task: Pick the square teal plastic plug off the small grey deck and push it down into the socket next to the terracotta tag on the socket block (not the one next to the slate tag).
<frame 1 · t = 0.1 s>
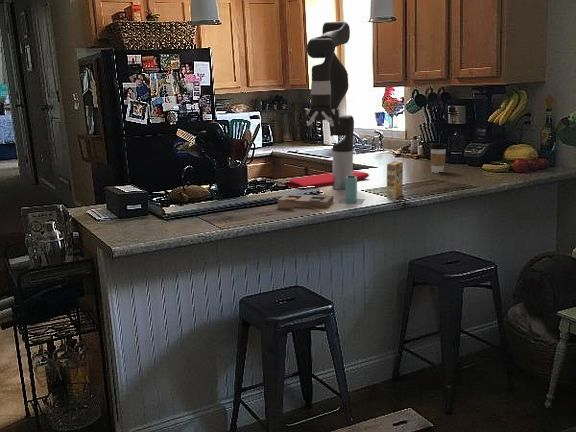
hand: (320, 135, 246), 29 cm above the countertop, fingers open, 8 cm apart
deck: (351, 203, 262), on the countertop
socket block: (305, 206, 258), on the countertop
candy box: (394, 198, 271), on the countertop
dish drying mat: (327, 183, 310), on the countertop
plug: (351, 201, 262), point 1 cm above the countertop, touching deck
coffee cup: (437, 172, 332), on the countertop
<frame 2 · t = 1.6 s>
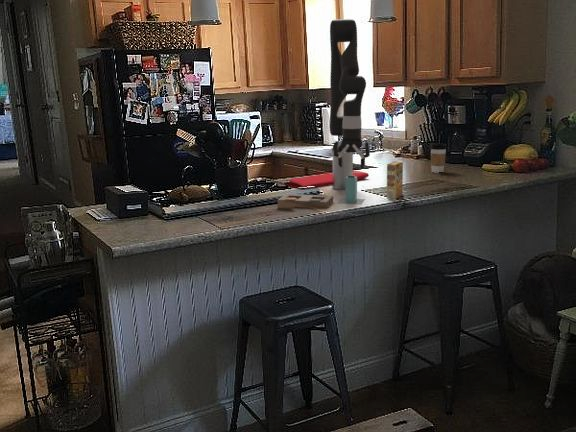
hand: (351, 167, 258), 15 cm above the countertop, fingers open, 8 cm apart
nothing on the countertop moved.
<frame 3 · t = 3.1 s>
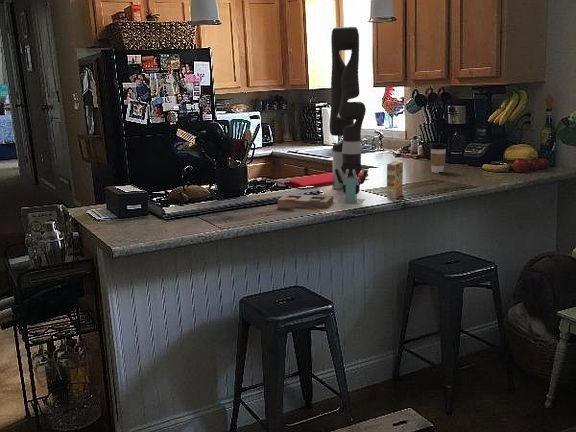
hand: (351, 193, 261), 4 cm above the countertop, fingers closed on plug, 4 cm apart
plug: (351, 201, 262), point 1 cm above the countertop, touching deck, gripper
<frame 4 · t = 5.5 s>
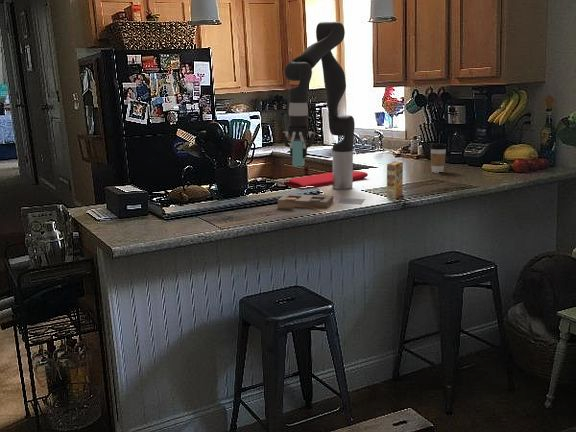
hand: (298, 157, 254), 20 cm above the countertop, fingers closed on plug, 4 cm apart
plug: (298, 165, 255), point 17 cm above the countertop, touching gripper
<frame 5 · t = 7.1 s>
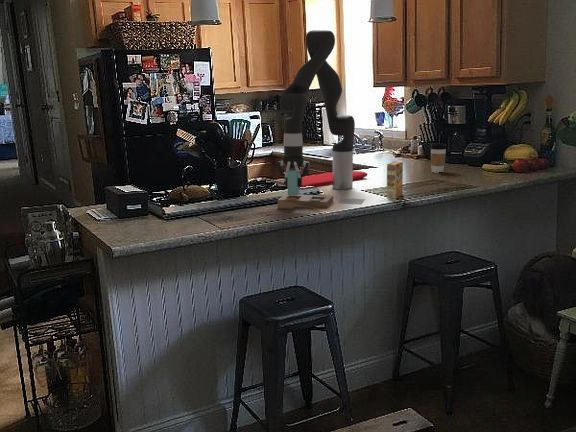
hand: (293, 186, 258), 8 cm above the countertop, fingers closed on plug, 4 cm apart
plug: (293, 194, 258), point 5 cm above the countertop, touching gripper
when the fingers open (5 cm above the countertop, at t = 8.1 s): plug drops 1 cm, resting in socket block.
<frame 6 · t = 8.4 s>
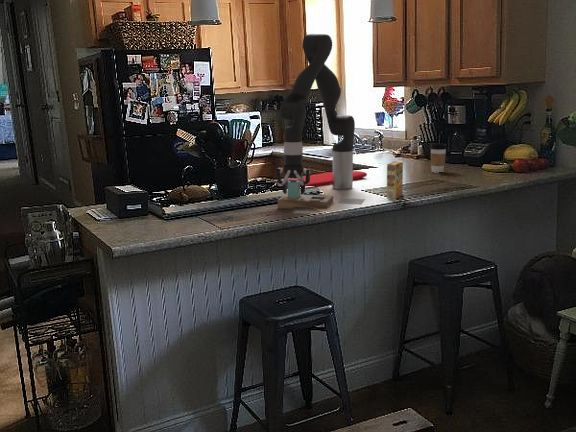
hand: (293, 193, 258), 5 cm above the countertop, fingers open, 6 cm apart
plug: (293, 205, 260), resting in socket block
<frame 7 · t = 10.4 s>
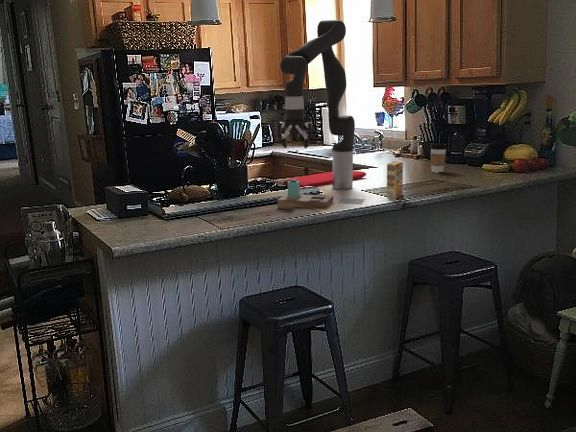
hand: (295, 147, 258), 23 cm above the countertop, fingers open, 8 cm apart
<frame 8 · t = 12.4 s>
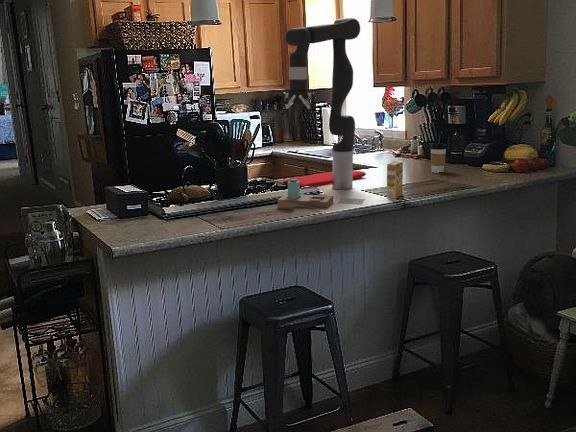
hand: (298, 117, 267), 34 cm above the countertop, fingers open, 8 cm apart
at the end: plug 0.1 cm from the target spot on the socket block, point 0.0 cm above the socket block's base; plug tilted 0°; the gripper is holding nothing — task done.
